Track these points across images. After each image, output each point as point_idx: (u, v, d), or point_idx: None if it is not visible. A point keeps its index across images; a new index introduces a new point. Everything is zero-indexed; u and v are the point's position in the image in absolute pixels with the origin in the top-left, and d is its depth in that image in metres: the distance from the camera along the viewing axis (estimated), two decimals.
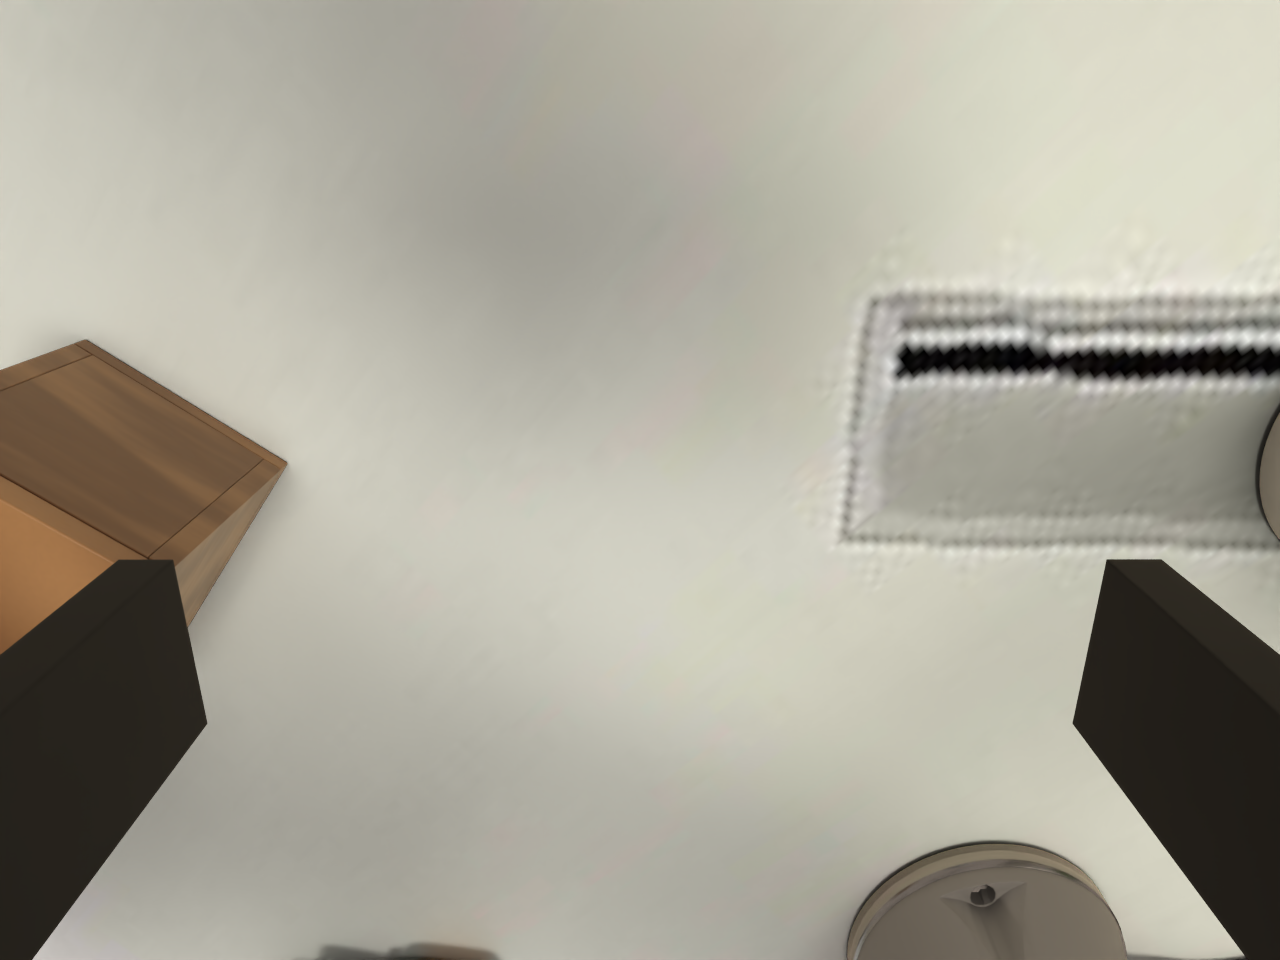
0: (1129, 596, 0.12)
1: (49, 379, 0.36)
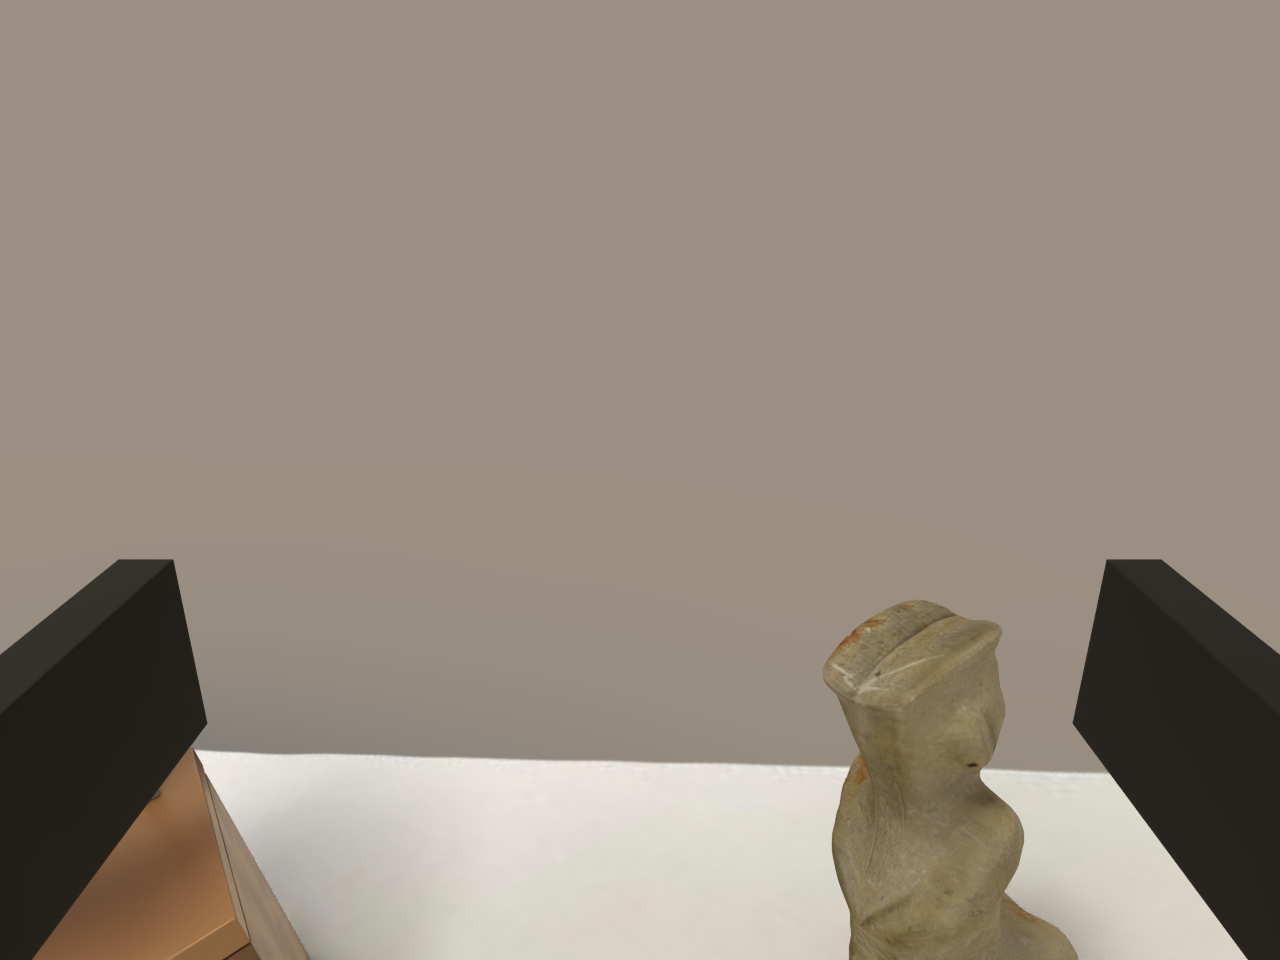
0: (1129, 596, 0.12)
1: None
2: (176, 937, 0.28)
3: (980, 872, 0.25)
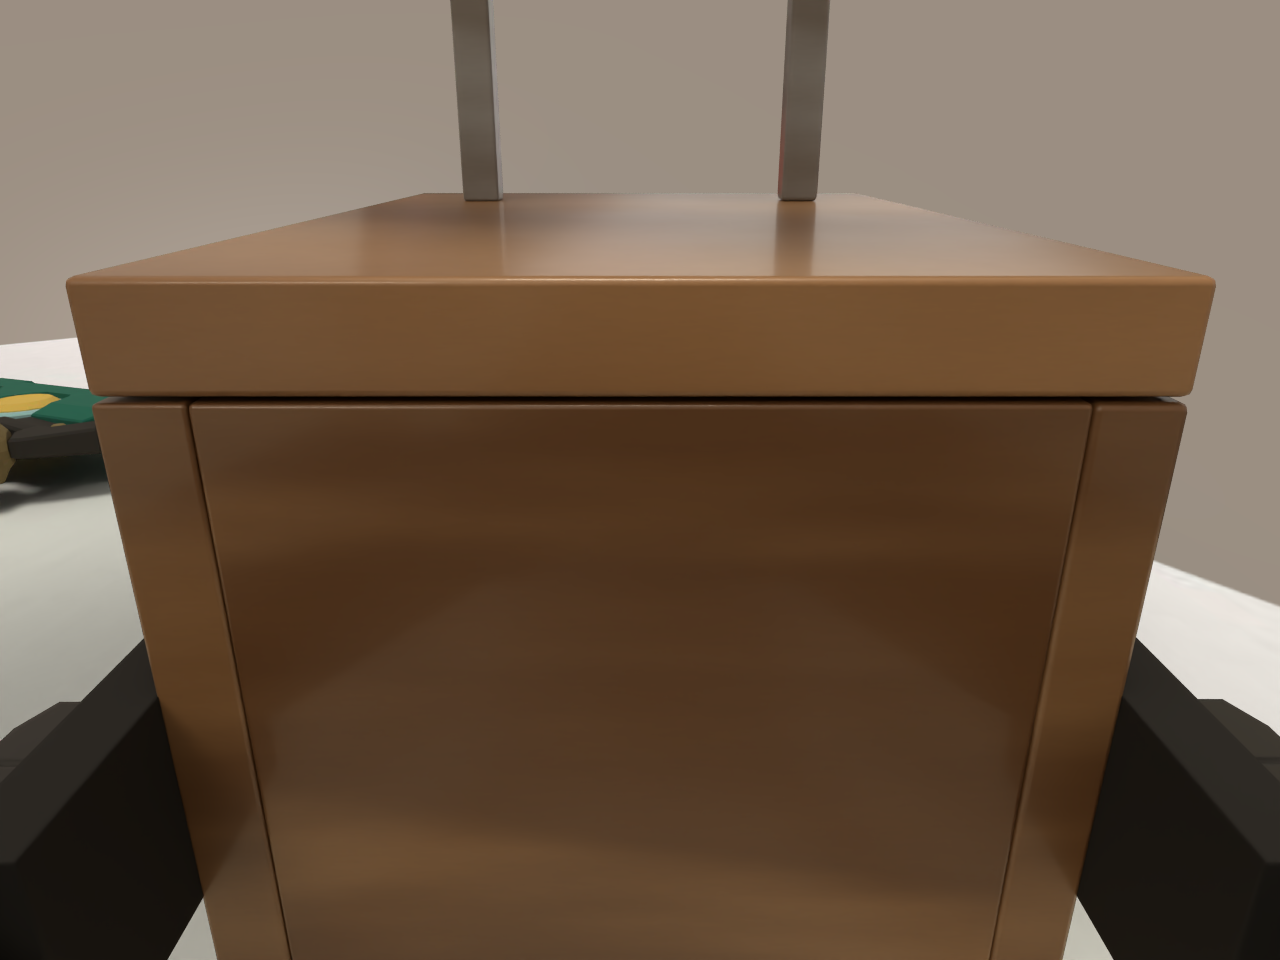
0: None
1: (964, 951, 0.10)
2: (986, 264, 0.08)
3: None
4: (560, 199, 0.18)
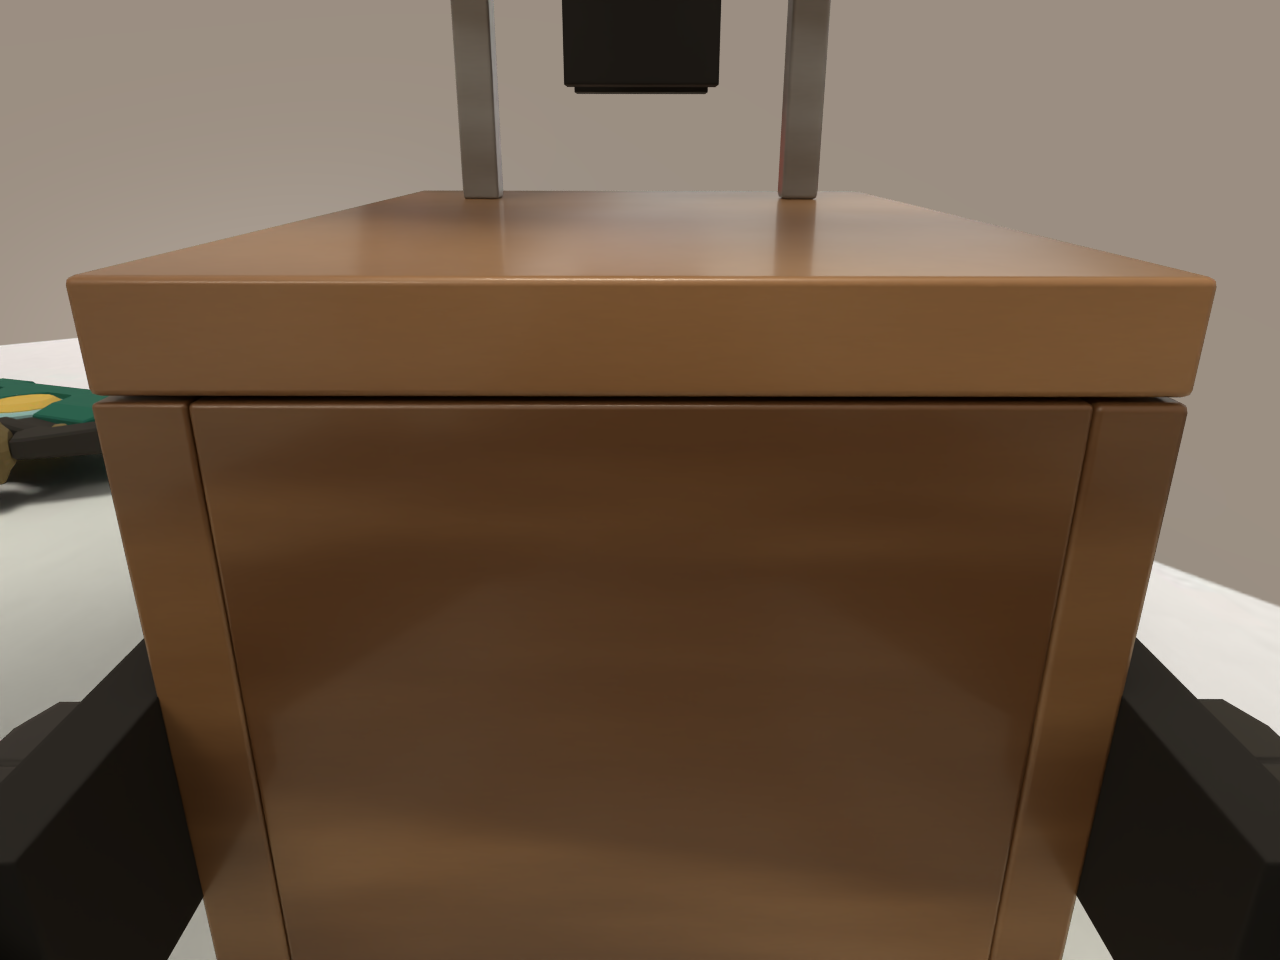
0: None
1: (964, 951, 0.10)
2: (987, 265, 0.08)
3: None
4: (560, 197, 0.18)
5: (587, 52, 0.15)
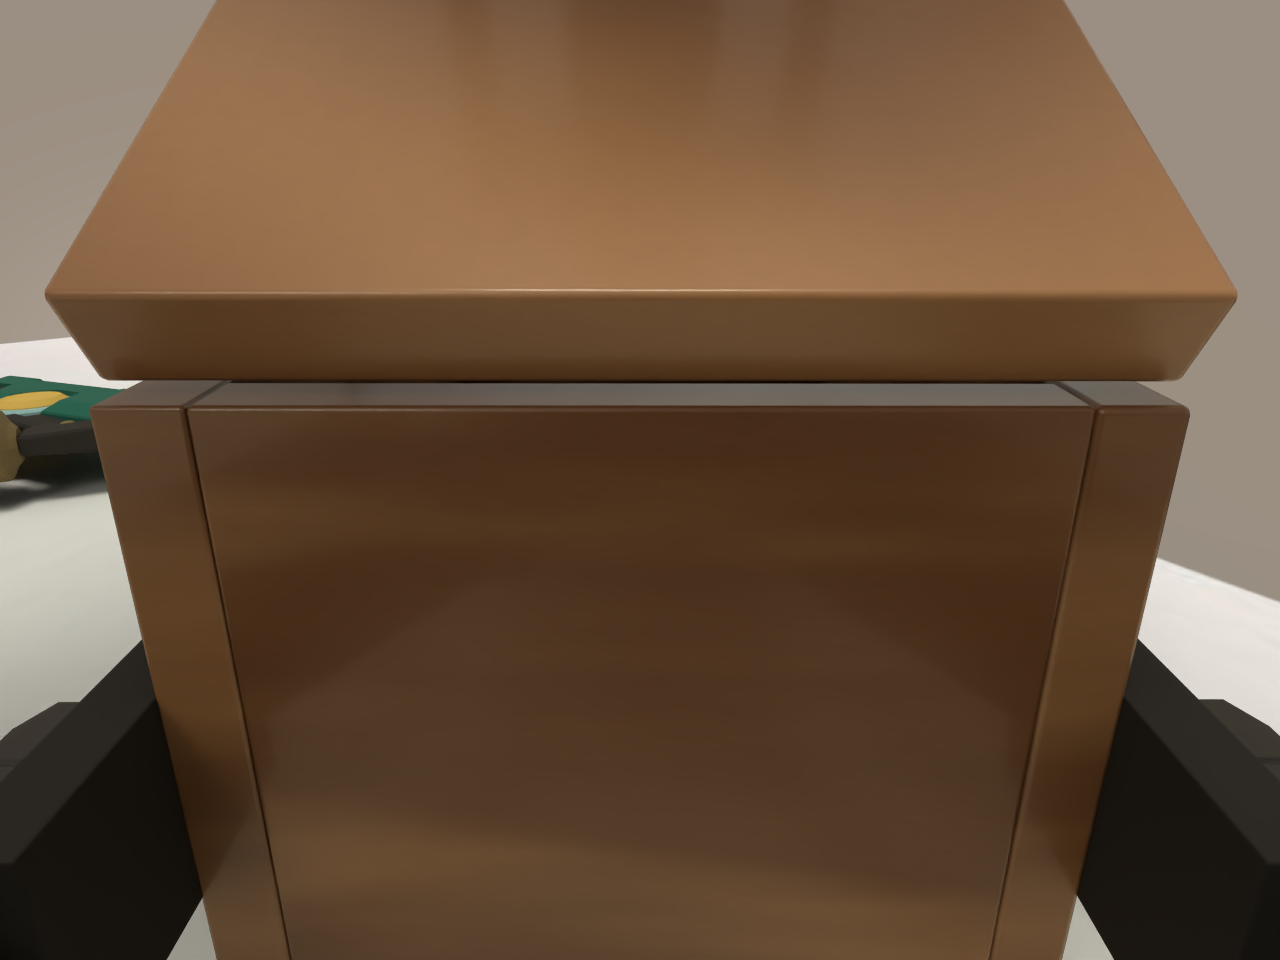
0: None
1: (963, 951, 0.10)
2: (1011, 232, 0.08)
3: None
4: None
5: None
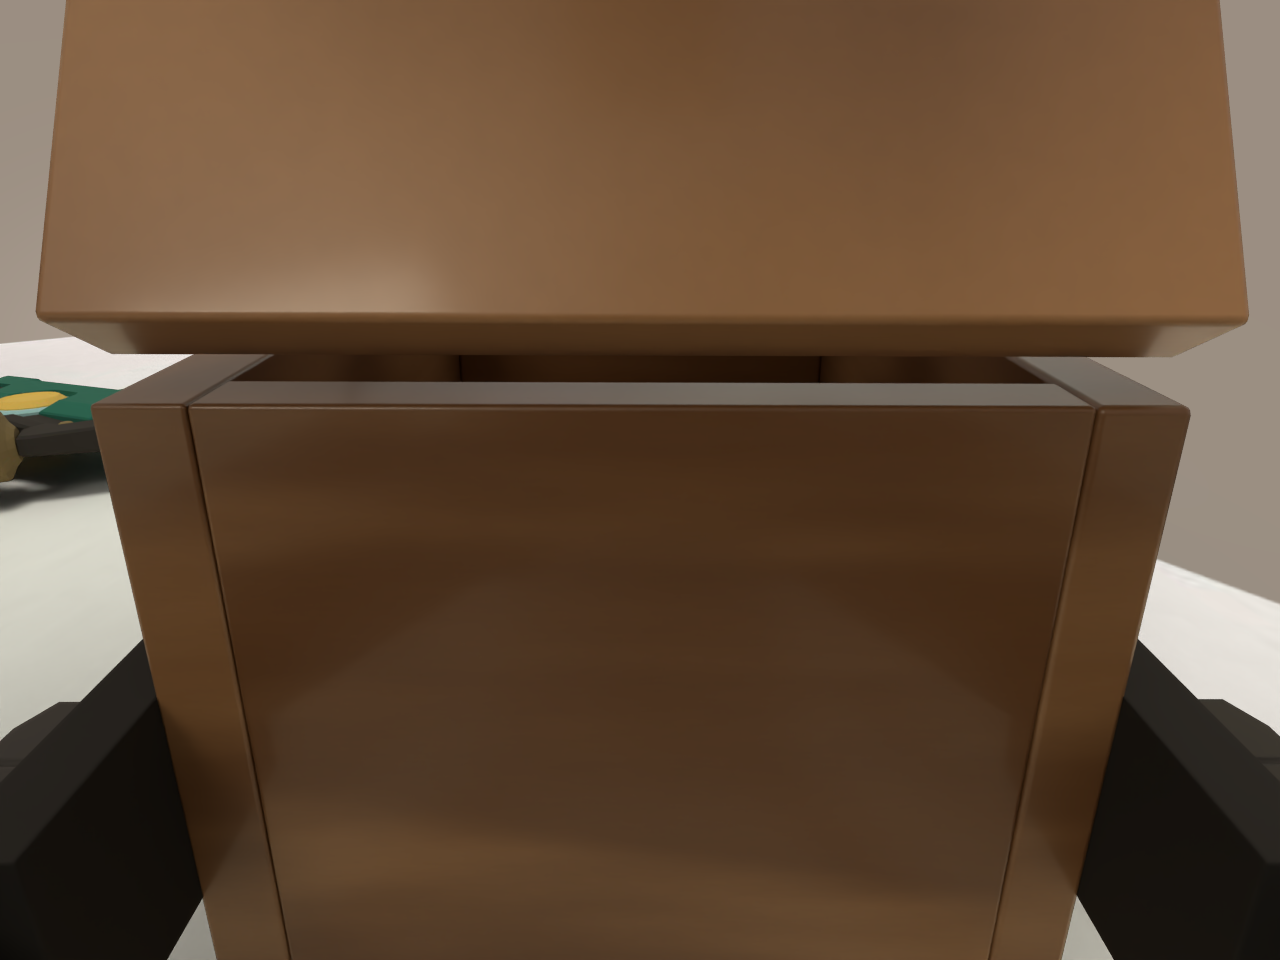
0: None
1: (963, 951, 0.10)
2: (1037, 227, 0.07)
3: None
4: None
5: None
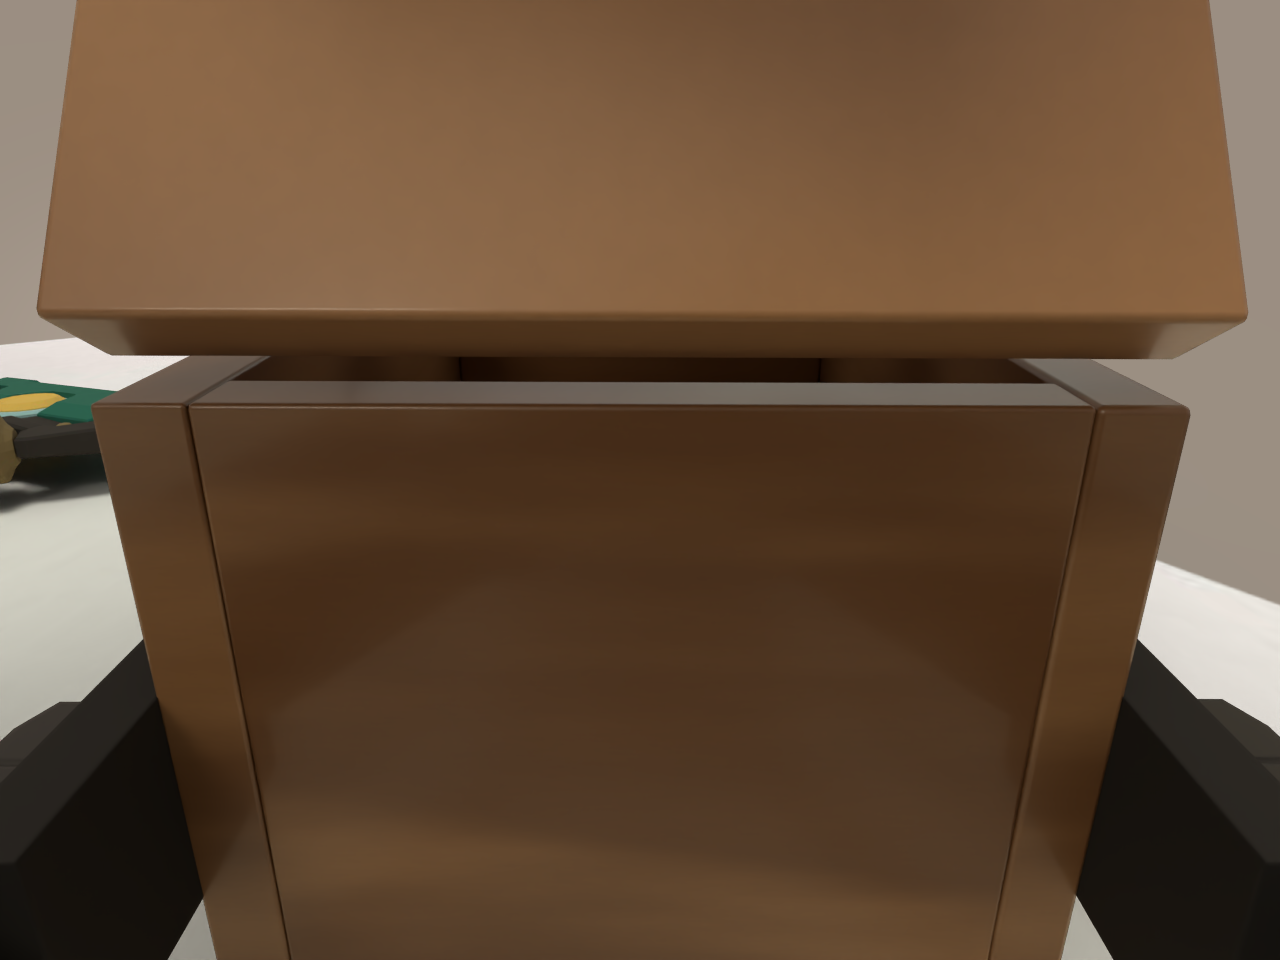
0: None
1: (962, 951, 0.10)
2: (1035, 226, 0.07)
3: None
4: None
5: None
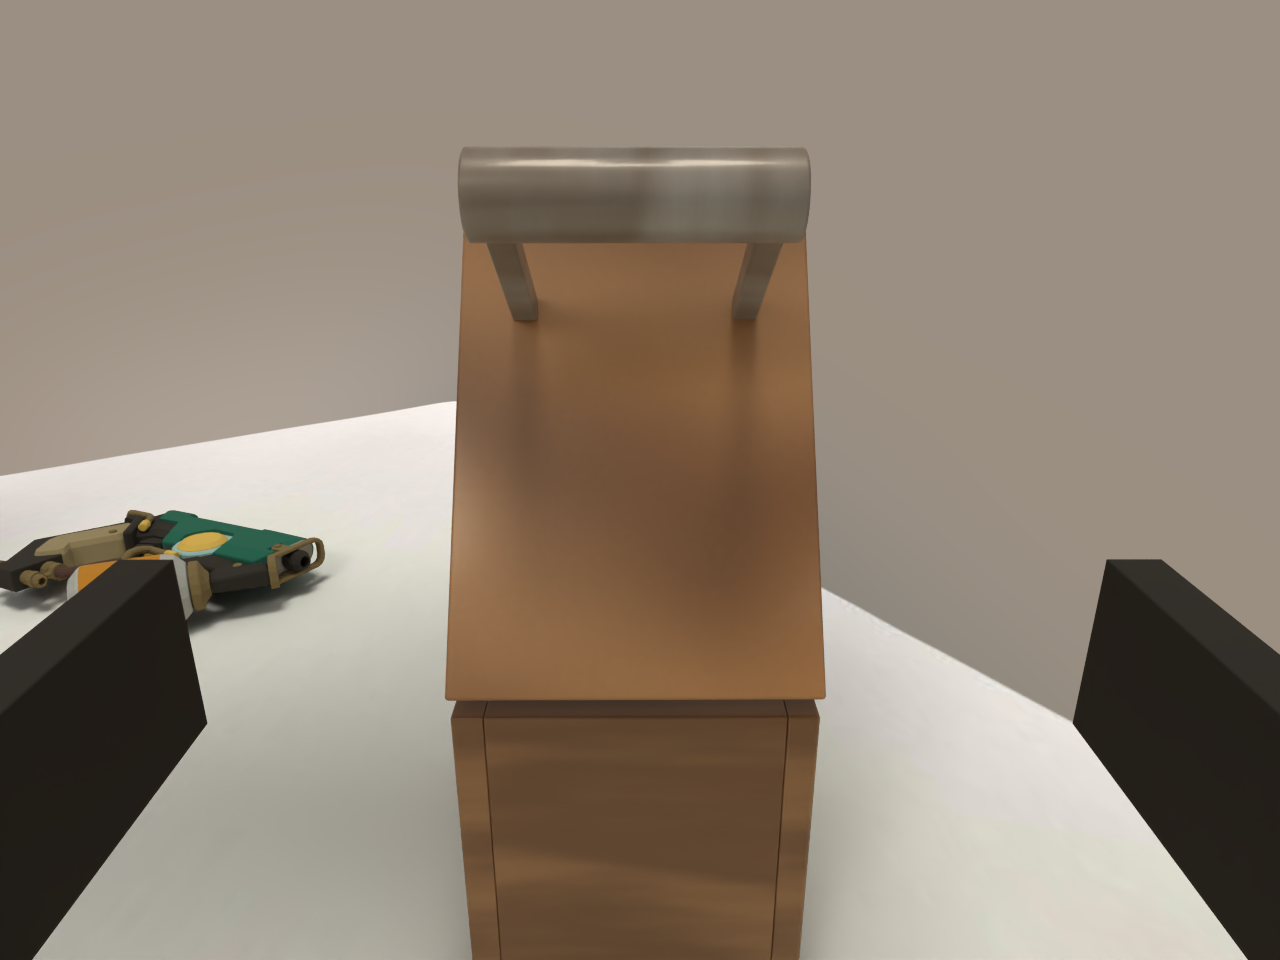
0: (1129, 596, 0.12)
1: (763, 904, 0.27)
2: (759, 667, 0.24)
3: None
4: (578, 298, 0.26)
5: None
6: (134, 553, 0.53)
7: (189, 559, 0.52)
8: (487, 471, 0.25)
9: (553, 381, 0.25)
